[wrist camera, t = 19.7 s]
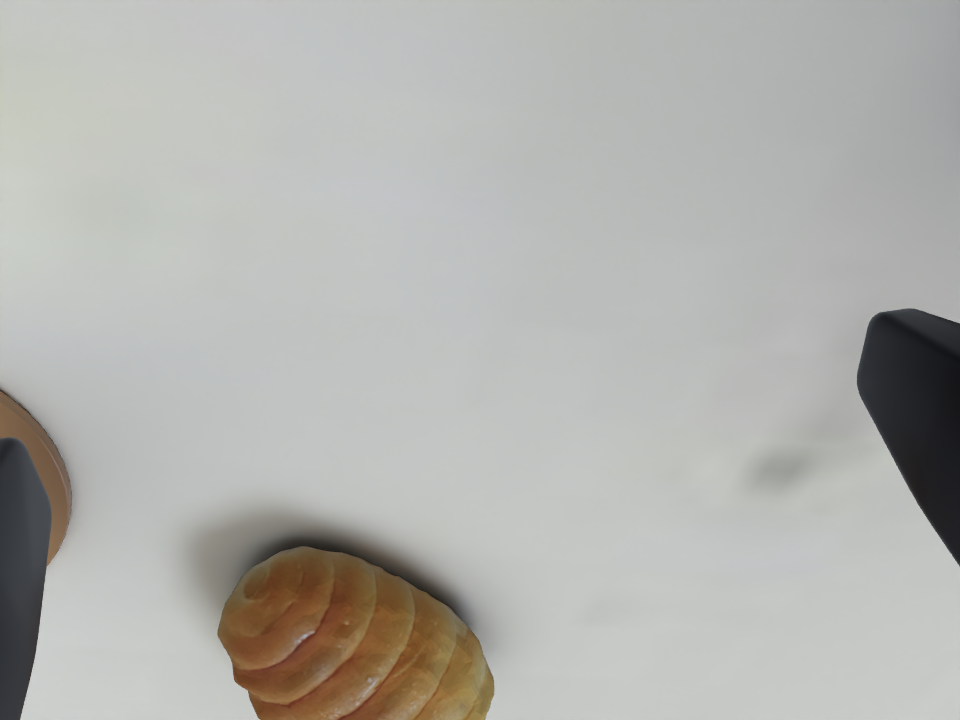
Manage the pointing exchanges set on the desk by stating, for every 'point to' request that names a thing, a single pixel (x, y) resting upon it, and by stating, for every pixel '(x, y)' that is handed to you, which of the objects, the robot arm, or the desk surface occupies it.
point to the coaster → (41, 465)
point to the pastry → (349, 644)
